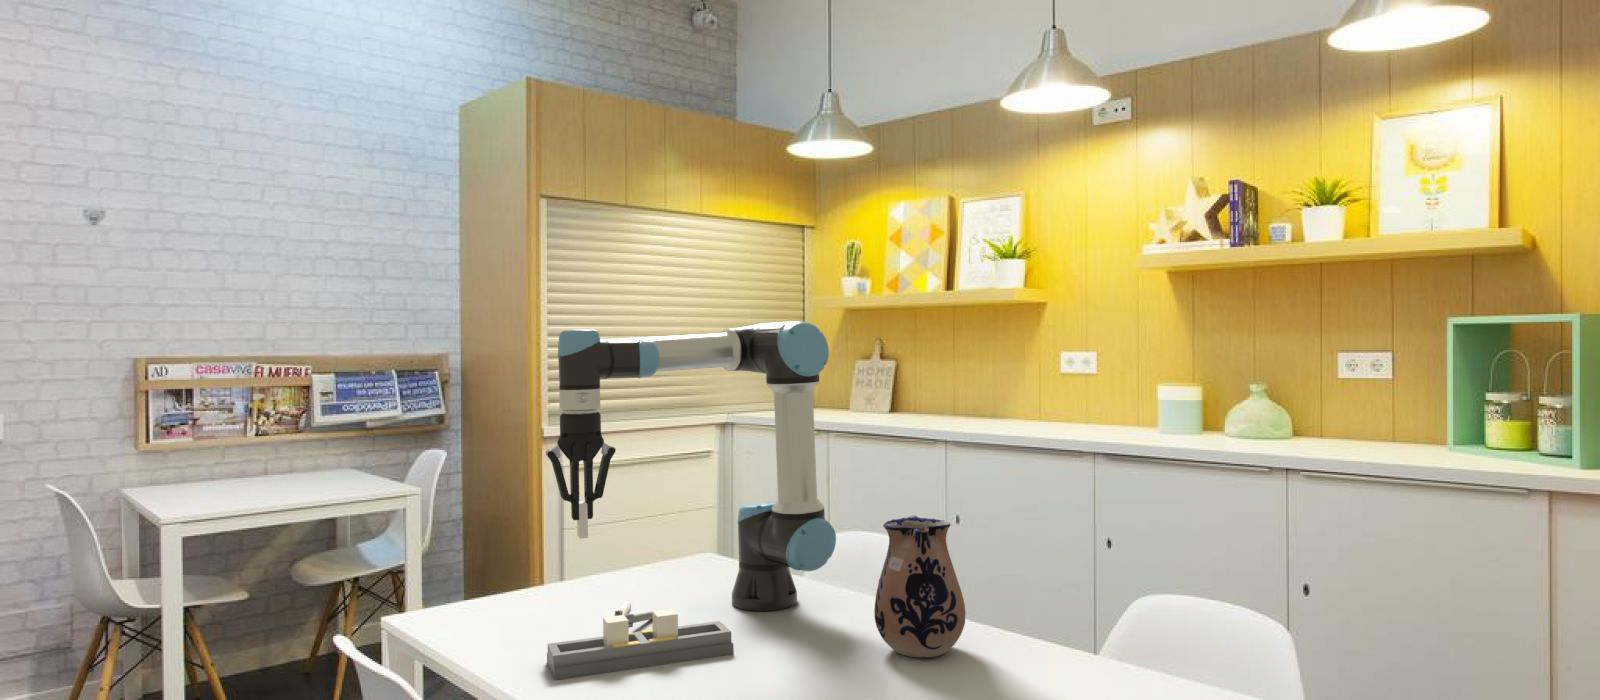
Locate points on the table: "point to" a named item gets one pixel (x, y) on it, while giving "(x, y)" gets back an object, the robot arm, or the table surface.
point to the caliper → (635, 617)
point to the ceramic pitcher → (919, 590)
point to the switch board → (638, 650)
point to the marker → (625, 607)
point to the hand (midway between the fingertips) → (582, 536)
